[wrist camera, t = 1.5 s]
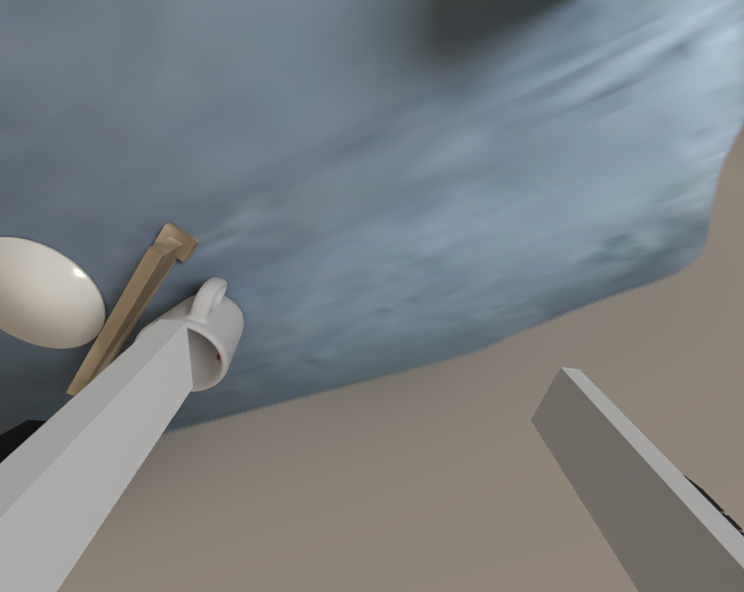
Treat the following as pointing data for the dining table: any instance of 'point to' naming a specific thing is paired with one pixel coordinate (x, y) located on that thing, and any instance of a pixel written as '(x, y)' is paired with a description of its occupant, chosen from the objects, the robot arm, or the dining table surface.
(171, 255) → the rail
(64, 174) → the dining table surface
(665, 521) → the robot arm
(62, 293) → the coaster
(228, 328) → the cup
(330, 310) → the dining table surface
